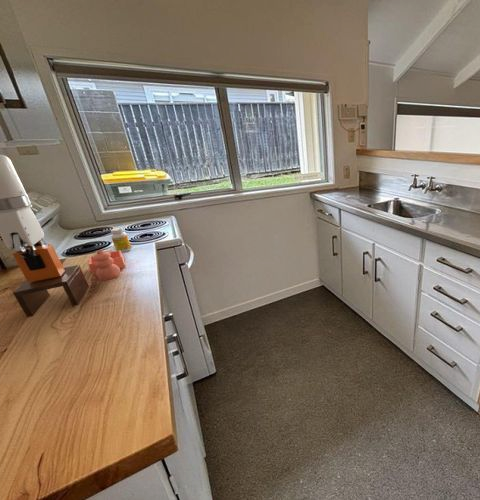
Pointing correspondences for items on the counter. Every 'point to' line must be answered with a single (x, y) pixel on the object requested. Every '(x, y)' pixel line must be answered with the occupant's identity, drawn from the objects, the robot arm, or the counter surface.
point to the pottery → (106, 264)
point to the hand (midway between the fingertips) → (41, 265)
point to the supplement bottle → (120, 240)
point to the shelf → (37, 293)
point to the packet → (50, 261)
